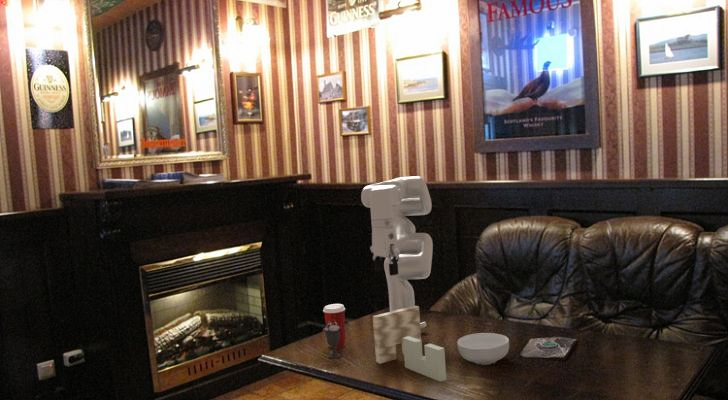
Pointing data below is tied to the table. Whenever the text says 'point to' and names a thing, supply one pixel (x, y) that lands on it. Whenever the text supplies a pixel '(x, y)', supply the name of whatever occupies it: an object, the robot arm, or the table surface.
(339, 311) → the coffee cup
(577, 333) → the table surface
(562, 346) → the terrain model
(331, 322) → the sundae
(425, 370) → the sage board
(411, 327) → the maple plate
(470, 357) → the cereal bowl
